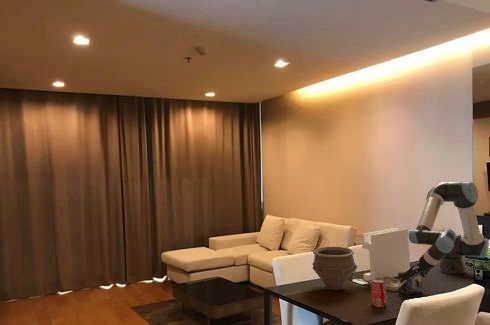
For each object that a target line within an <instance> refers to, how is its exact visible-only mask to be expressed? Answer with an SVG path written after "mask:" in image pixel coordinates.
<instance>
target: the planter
mask: <svg viewBox="0 0 490 325" xmlns="http://www.w3.org/2000/svg"><path fill="white" fill-rule="evenodd" d="M312 253H313V255H314V259H313V262H312V264H311V265H312V270H313V271H314V272H315V274H316V275H317V276H318V277H319V279H320V280H321V281H322V283H323V284H324V286H325V287H326V289H327V290H329V291H341V290H343V289H344V287H345V285H346V284H347V282H348V280H349V279H350V277H351V276H352V275H353V274H354V273H355V271H356V270H357V268H358V265H357V264H356V263H355V259H354V254H355V252H354V250H352V249H350V248H347V247H344V246H343V247H342V246H324V247H318V248H316V249H314V250H313V251H312Z"/></svg>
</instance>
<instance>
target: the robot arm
mask: <svg viewBox="0 0 490 325" xmlns="http://www.w3.org/2000/svg"><path fill="white" fill-rule="evenodd" d="M477 188H478V187H477V185H476V184H475V183H474V182H472V181H443V182H439V183H437V184H436V185H434V186H433V187H432V188H431V189H430V190H429V191H428V193H427V194H426V197H425V200H426V201H425V204H424V207H423V210H422V213H421V216H420V218H419V220H418V223H417V227H416V228H415V229H410V231H408V241H409V243H411V244H414V245H423V246H424V245H427V246H428V245H429V246H430V247H428V248H427V250H426V251H425V252H424V253H423V254H422V255H421V256H420V257H419V259H418V263H417V264H416V265H415V264H414V265H412V266H411V267H410V269H409V270H408V271H406V272H405V273H404V274H403V275H401V279H400V280H399V279H398V280H399V281H398V282H397V285H398V286H399V287H401V286H402V285H403V284H404V283H405V282H406V281H407V279H409V278H410V277H412V276H413V275H415V274H418V273H421V277H422V278H425V277H426V276H427V275H428V273H429V272H430V271H431V270H433V269H434V267H435V266H436V265H437V264H439V267H438V268H439V269H438V271H439V272H440V273H441V272H442V273H444V274H451V275H461V274H466V272H467V269H466V266H465V263H464V261H463V257H469V258H478V259H480V258H481V259H482V258H483V259H485V258H487V256H488V253H489V246H490V242H489V239H488V238H485V237H484V235H483V233H481V230H480V227H479V221H478V218H477V213H476V209H475V205H476V203H477V202H478V200H479V193H478V192H479V191H478V189H477ZM446 202H447V203H453V206H454V207H455V208H457V210H458V214H459V219H460V222H461V223H460V224H461V226H462V227H461V228H462V230H463V231H462V232H463V236H462V235H461V234H459V233H456V232H455V231H454V230H453V229H451V228H443V229H442V230H441V231H440V230H433V228H434V224H435V221H436V220H437V215H438V214H439V210H440V208H441V206H443V204H444V203H446Z"/></svg>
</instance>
